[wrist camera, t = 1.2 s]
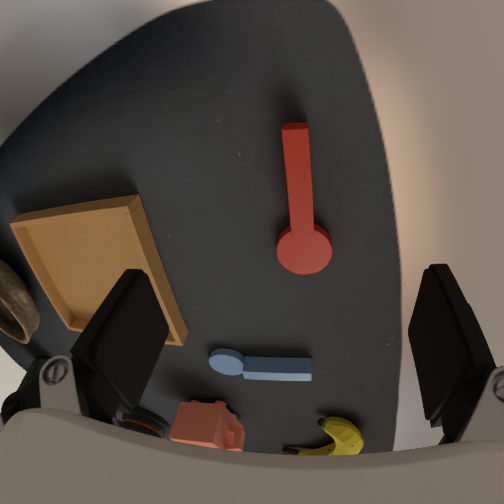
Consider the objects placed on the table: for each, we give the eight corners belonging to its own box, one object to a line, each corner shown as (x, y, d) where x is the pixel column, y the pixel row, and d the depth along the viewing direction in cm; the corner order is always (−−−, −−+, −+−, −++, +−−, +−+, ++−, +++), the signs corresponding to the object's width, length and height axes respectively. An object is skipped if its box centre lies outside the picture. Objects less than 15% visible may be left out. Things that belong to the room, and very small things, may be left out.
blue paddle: (312, 350, 29) (311, 366, 28) (311, 371, 31) (310, 387, 30) (206, 346, 31) (202, 361, 30) (215, 367, 34) (211, 381, 32)
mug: (153, 409, 45) (133, 466, 36) (180, 432, 51) (165, 483, 41) (102, 400, 49) (81, 447, 40) (130, 424, 54) (113, 467, 45)
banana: (358, 436, 32) (253, 427, 39) (363, 471, 40) (283, 465, 46) (363, 407, 36) (263, 402, 42) (367, 449, 43) (289, 445, 50)
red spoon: (262, 124, 18) (258, 131, 16) (328, 120, 17) (330, 127, 15) (279, 267, 24) (277, 284, 22) (331, 266, 23) (332, 283, 21)
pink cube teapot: (164, 395, 41) (148, 441, 34) (238, 397, 37) (226, 452, 30) (189, 418, 45) (176, 460, 38) (257, 420, 41) (248, 469, 34)
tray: (21, 213, 25) (9, 223, 24) (139, 193, 22) (127, 205, 20) (75, 318, 34) (68, 329, 32) (188, 331, 30) (182, 346, 29)
